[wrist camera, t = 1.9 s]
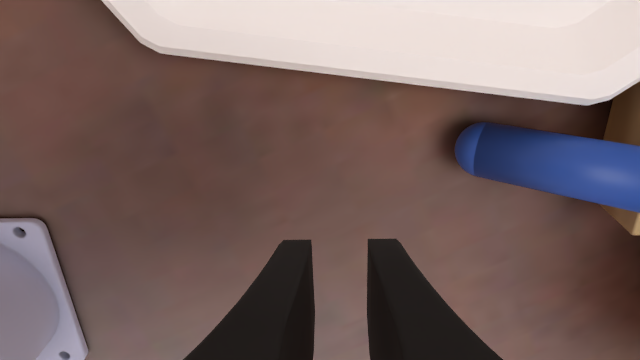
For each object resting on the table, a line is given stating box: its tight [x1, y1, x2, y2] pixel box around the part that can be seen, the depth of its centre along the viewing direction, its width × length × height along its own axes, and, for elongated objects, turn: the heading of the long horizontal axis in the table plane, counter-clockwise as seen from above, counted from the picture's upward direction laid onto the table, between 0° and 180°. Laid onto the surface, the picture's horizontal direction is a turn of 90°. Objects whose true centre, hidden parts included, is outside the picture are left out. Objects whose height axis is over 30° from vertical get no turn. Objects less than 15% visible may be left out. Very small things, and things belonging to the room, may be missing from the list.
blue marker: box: [455, 122, 640, 213], centre depth 15 cm, size 6×2×5 cm, turn 92°
